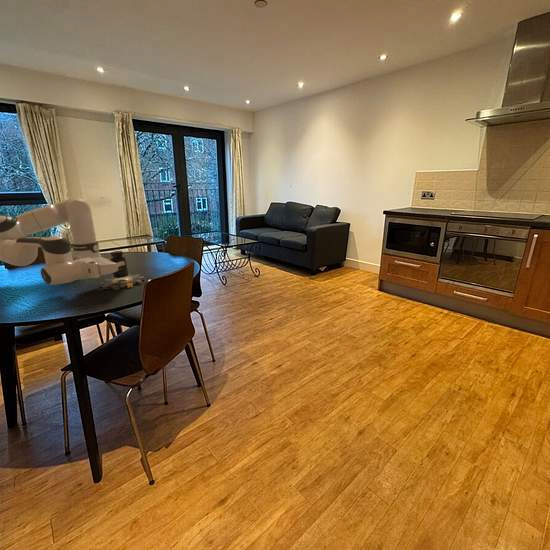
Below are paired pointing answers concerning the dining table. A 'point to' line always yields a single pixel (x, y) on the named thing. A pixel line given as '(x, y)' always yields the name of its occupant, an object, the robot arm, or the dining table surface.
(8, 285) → the dining table surface
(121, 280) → the sprocket plate
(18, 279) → the dining table surface
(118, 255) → the supplement bottle
